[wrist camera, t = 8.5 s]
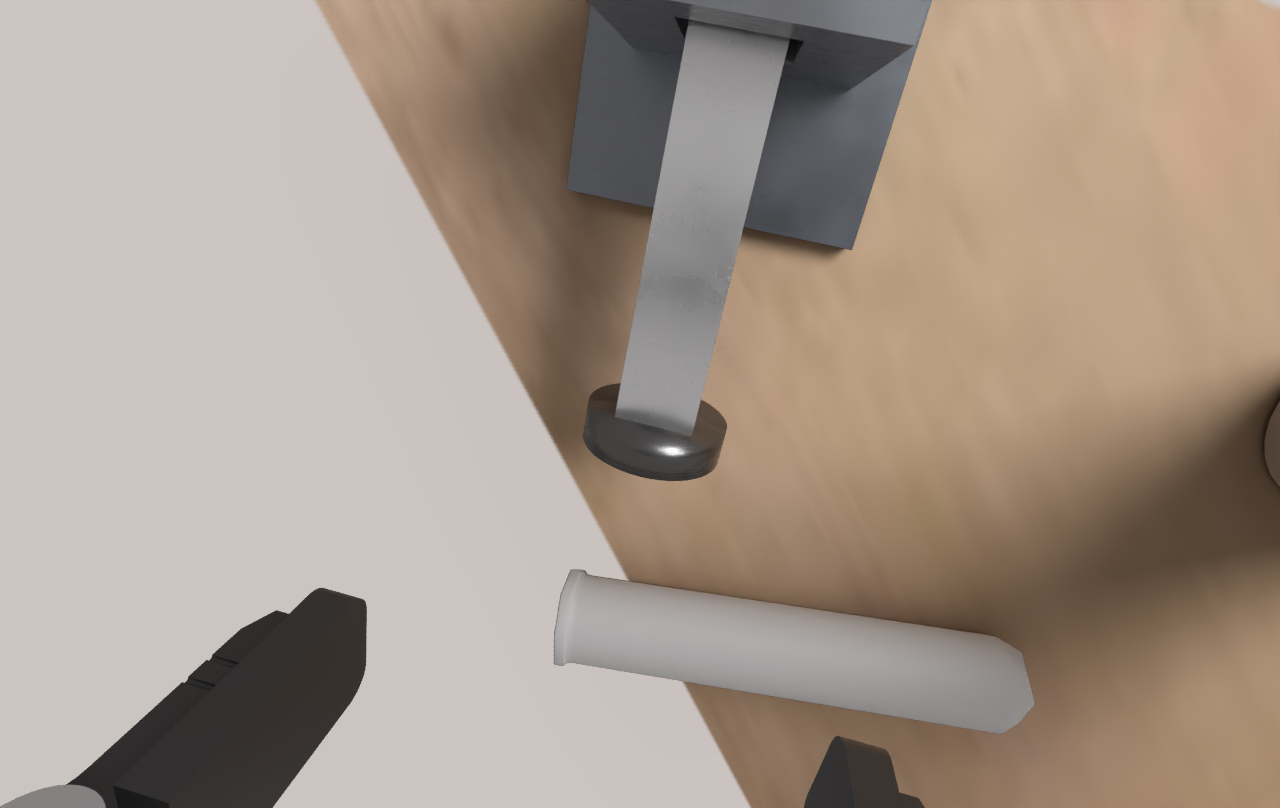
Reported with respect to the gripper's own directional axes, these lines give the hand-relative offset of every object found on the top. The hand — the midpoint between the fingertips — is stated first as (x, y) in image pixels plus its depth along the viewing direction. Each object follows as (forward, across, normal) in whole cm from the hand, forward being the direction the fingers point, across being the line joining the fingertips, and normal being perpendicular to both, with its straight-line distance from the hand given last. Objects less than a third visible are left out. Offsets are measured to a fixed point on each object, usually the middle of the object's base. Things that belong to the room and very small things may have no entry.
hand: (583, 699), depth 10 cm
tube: (+22, -9, +15) cm, 28 cm away
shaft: (+18, +1, -7) cm, 19 cm away
